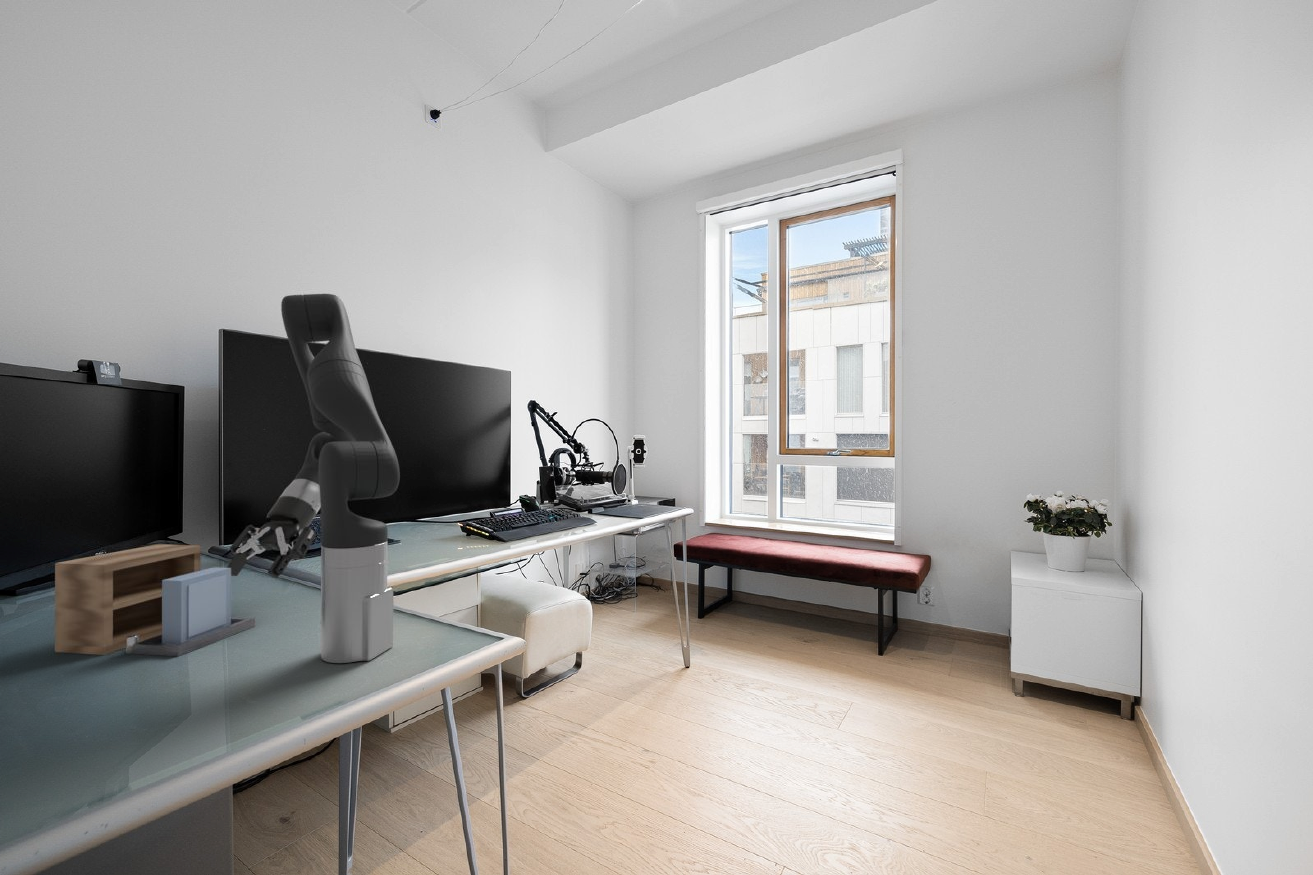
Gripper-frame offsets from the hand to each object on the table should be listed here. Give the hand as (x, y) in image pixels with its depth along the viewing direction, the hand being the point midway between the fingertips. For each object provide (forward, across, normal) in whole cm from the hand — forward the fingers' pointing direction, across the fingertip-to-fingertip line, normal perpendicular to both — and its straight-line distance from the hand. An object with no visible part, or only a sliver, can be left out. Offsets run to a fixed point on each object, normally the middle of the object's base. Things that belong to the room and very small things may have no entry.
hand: (251, 574), depth 105 cm
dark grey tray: (+13, 0, -2) cm, 14 cm away
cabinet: (+13, -12, -2) cm, 18 cm away
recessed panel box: (+13, 0, -2) cm, 14 cm away
